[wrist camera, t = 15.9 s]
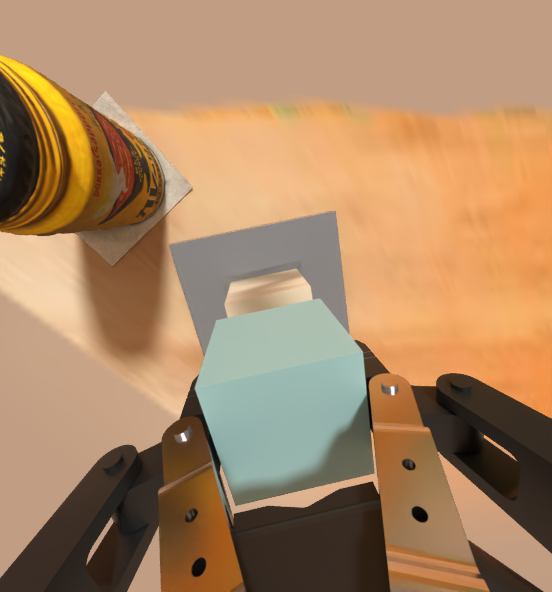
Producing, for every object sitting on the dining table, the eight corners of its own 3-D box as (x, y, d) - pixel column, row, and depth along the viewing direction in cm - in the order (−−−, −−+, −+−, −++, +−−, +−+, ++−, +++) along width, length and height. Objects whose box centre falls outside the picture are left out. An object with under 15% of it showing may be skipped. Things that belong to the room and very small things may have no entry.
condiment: (193, 187, 19) (100, 148, 7) (113, 266, 20) (-77, 340, 8) (107, 92, 16) (-218, -179, 5) (23, 186, 18) (-395, 139, 6)
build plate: (330, 211, 20) (335, 211, 19) (347, 348, 24) (351, 355, 22) (173, 243, 19) (169, 245, 18) (215, 377, 23) (214, 385, 22)
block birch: (296, 268, 20) (310, 286, 15) (306, 327, 21) (322, 361, 16) (230, 282, 20) (224, 304, 15) (245, 340, 21) (244, 378, 16)
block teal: (320, 298, 12) (362, 351, 8) (332, 384, 14) (374, 473, 9) (216, 320, 12) (194, 388, 8) (240, 405, 14) (235, 505, 9)
